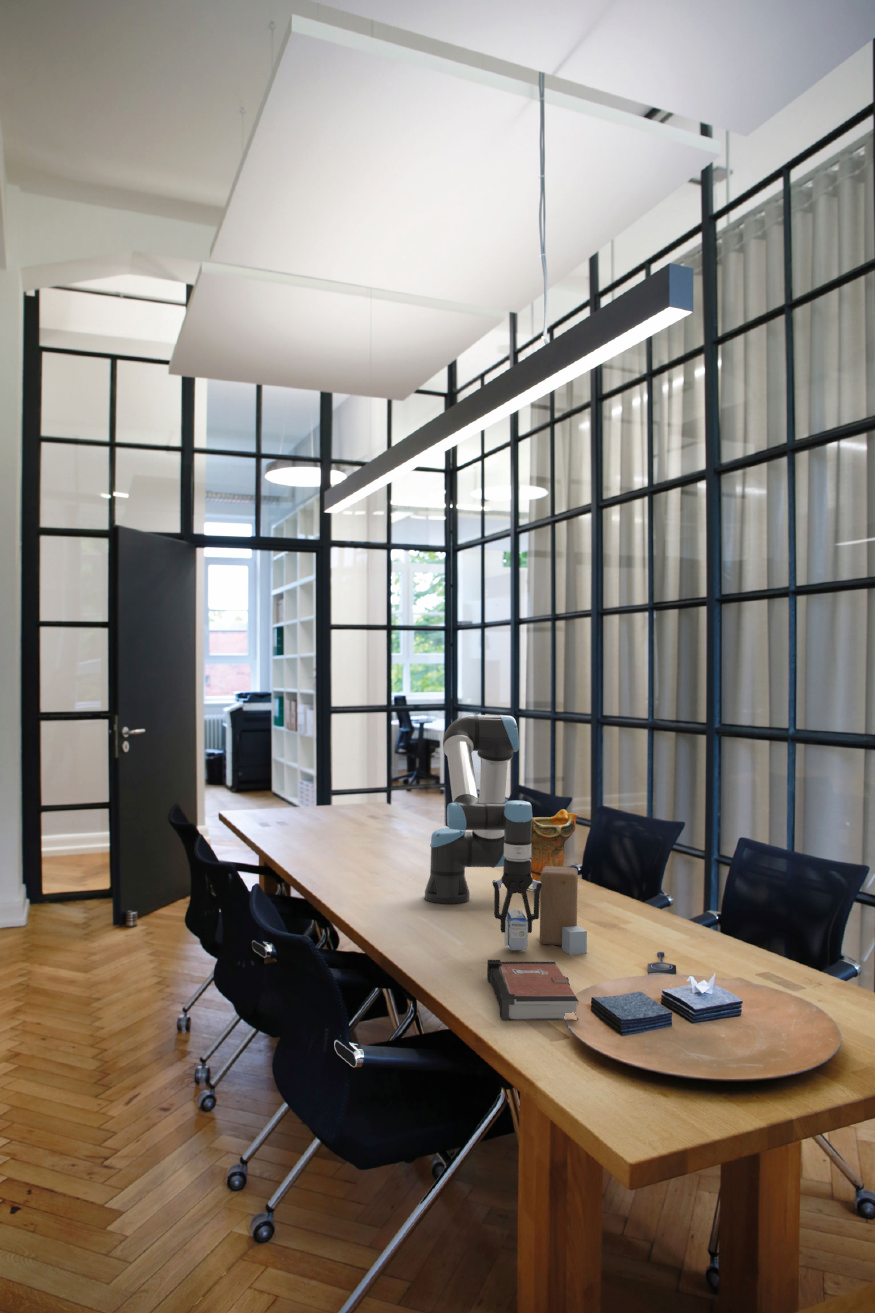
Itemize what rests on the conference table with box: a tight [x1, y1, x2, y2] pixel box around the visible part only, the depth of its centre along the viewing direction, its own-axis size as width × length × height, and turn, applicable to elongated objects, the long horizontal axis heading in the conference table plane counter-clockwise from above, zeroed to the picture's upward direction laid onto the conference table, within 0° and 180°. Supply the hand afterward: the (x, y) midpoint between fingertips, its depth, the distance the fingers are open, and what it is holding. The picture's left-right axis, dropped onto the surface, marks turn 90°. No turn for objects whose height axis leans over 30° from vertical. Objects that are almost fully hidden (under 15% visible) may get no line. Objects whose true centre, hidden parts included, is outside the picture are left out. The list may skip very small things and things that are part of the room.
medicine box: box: [506, 909, 527, 951], centre depth 230 cm, size 8×4×9 cm, turn 4°
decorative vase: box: [526, 808, 579, 892], centre depth 303 cm, size 21×23×28 cm
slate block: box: [561, 925, 588, 955], centre depth 231 cm, size 5×5×6 cm
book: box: [486, 959, 580, 1022], centre depth 196 cm, size 26×18×5 cm
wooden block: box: [539, 866, 579, 946], centre depth 240 cm, size 10×10×20 cm
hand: (515, 944), depth 230 cm, fingers closed on medicine box, 5 cm apart
